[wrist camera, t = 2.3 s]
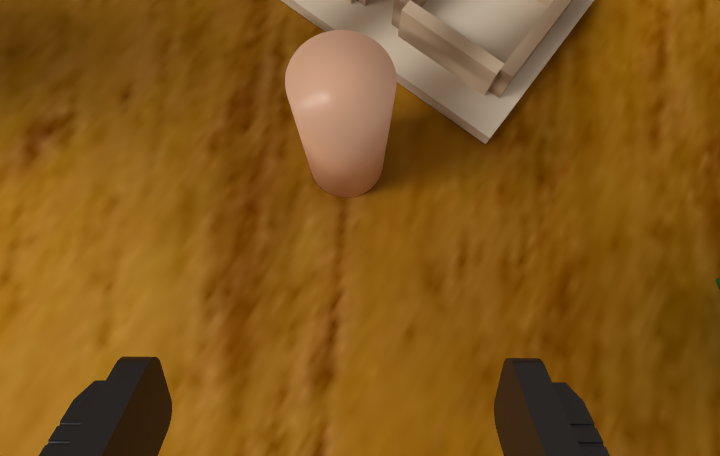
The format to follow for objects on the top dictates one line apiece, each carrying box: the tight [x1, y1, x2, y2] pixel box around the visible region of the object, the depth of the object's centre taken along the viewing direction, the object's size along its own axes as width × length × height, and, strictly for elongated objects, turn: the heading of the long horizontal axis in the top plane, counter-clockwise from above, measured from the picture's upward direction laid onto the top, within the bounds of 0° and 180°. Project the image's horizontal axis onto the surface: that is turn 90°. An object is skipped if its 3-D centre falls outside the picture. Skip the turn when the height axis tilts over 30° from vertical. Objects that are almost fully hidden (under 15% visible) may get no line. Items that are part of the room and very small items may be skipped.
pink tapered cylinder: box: [285, 30, 397, 198], centre depth 24 cm, size 4×4×10 cm
